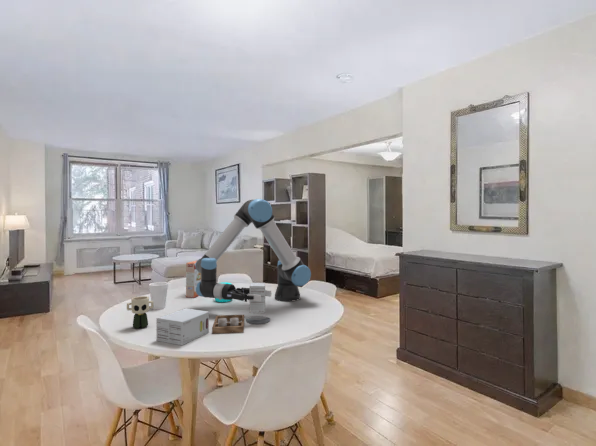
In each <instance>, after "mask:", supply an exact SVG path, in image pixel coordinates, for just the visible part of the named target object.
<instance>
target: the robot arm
mask: <svg viewBox="0 0 596 446" xmlns="http://www.w3.org/2000/svg"><path fill="white" fill-rule="evenodd" d="M232 219H233V220H231V222H230V223H229V224H228V225H227V226H226V227H225V229H224V230H223V231H222V232H221V234H220V235H219V236H218V237H217V239H215V241H214V242H213V244H212V245H211V246H210V247H209V249H207V251H206V252H205V253H204V255H202V256H201V258H199V259H196V260H197V262H196V264H195V267H196V269H197V271H198V272H199V273H201V282H199V283H198V284H197V287H196V293H197V295H198V296H197V297H204V298H210V299H215V298H219V300H221V299H225V300H231V301H232V300H237V301H241V302H243V301H244V303H246V302H248V301H250V300H252V301H261V295H255V294H250V287H244V286H243V287H236V286H235V284H233V283H231V284H224V283H221V282H217V272H218V271H217V267H218V265H217V263H218V261H219V260H220V258H221V257H222V256H223V255H224V254H225V252H226V251H227V250H228V248H229V247H231V245H232V244H233V242H234V241H235V240H236V239H237V237H238V236H239V235H240V234H241V233H242V232H243V231H244V229H245V228H248V227H249V226H250V225H251V224H252V225H254V227H255V229H258V230H260V232H261V233H262V235H263V237H264V238H265V240H266V241H267V243H268V245H269V246H270V247H271V249H272V251H273V252H274V254H275V255H276V256H277V258H278V260H277V266H276V267H277V286H276V289H275V294H274V300H277V301H279V300H280V301H281V302H293V301H292V300H295V301H298V300H297V299H299V298H300V299H301V293H300V289H299V287H303V286H305V285H307V284H308V283H309V281H310V280H311V277H312V272H311V269H310V267H308V266H307V265H305V263H304V262H303V261H302V259H301V257H299V256H296V254H295V253H294V251H293V250H292V248H291V246H290V245H289V243H288V241H287V240H286V239H285V236H284V235H283V233H282V232H281V230H280V229H279V227H278V225H277V224H276V222H275V215H274V213H273V207H272V205H271V203H269V202H268V201H267V200H265V199H262V198H256V199H249V200H247V201H245V202H244V203H243V204H242V205H241V206H240V208H239V209H238V210H237V212H236V213H234V215H233V218H232ZM265 297H269V298H270V297H272V290H268V289H267V290H266V289H265ZM300 299H299V300H300Z"/></svg>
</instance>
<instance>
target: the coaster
mask: <svg viewBox="0 0 596 446" xmlns="http://www.w3.org/2000/svg"><path fill="white" fill-rule="evenodd" d="M270 321H271V318H270V317H268V316H266V315H265V316H264V315H254V316H249V317H247V318H246V321H245V322H246V323H247V324H251V325H262V324H268V323H269V322H270Z"/></svg>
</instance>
